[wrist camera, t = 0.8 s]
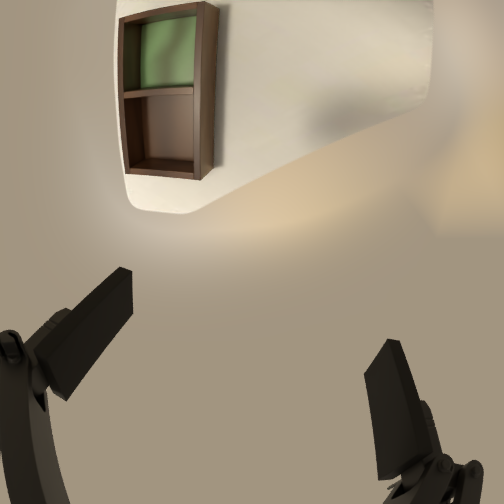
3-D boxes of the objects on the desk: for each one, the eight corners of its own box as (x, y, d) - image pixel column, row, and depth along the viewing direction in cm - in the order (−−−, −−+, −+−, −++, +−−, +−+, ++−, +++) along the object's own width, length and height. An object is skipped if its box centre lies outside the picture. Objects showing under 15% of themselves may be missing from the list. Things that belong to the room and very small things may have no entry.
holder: (219, 8, 22) (205, 0, 19) (213, 168, 36) (200, 180, 32) (139, 20, 24) (118, 18, 21) (142, 162, 37) (125, 173, 34)
